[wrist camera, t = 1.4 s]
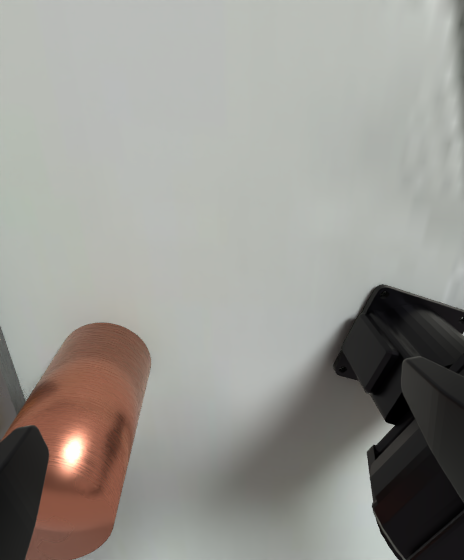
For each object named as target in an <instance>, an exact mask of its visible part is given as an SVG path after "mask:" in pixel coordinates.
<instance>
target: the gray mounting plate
mask: <svg viewBox="0 0 464 560" xmlns="http://www.w3.org/2000/svg"><path fill="white" fill-rule="evenodd" d="M24 404H25V399H24V396H23V393H22V390H21V387H20V384H19V381H18V378H17V375H16V372H15V369H14V366H13V363H12V360H11V357H10V354H9V351H8V348H7V345H6V342H5V339H4V336H3V333H2V330H1V327H0V441H1V440H2V438H3V437H4V435H5V433H6V432H7V430H8V429H9V427H10V426H11V424H12V422H13V421H14V419H15V418H16V416H17V415H18V413H19V412H20V410H21V408H22V407H23V405H24Z"/></svg>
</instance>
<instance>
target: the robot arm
mask: <svg viewBox="0 0 464 560" xmlns="http://www.w3.org/2000/svg"><path fill="white" fill-rule="evenodd" d="M384 291H386V293H385V294H384V295H383V296H380V294H381V293H382V292H384ZM461 317H463V318H462V319H461V320H460V318H461ZM463 332H464V310H462V309H459V308H455V307H452V306H449V305H446V304H443V303H440V302H437V301H434V300H431V299H428V298H425V297H422V296H419V295H415V294H412V293H409V292H406V291H403V290H400V289H397V288H394V287H391V286H388V285H383V284H382V285H379V286H377V287H376V288H375V289H374V291H373V293H372V295H371V297H370V298H369V300H368V302H367V304H366V306H365V308H364V310H363V311H362V313H361V314H360V315H359V316H358V317H357V319H356V321H355V323H354V325H353V326H352V328H351V330H350V332H349V334H348V336H347V337H346V339H345V341H344V343H343V345H342V347H341V348H342V350H341V352H340V354H339V356H338V357H337V359H336V361H335V363H334V366H333V367H334V370H335V372H336V373H337V375H340V376H343V377H347V378H351V379H354V380H358V381H359V382H360V383H361V385H362V387H363V389H364V390H365V392H366V393H369V394H370V395H371V397H372V399H373V400H374V402H375V404H376V406H377V407H378V409H379V411H380V413H381V414H382V416H383V418H384V420H385V421H386V422H387V423H389V424H393V425H395V426H394V427H393V428H392V429H391V430H390V431H389V432H388V433H387V434H386V435H385V437H384V438H383V439H382V440H381V441H380V442H379V443H378V444H377V445H373V446H372V447H371V448H370V449H369V450H368V451H367V458H368V466H369V473H370V481H371V489H372V496H373V503H372V508H373V513H374V515H375V517H376V521H377V524H378V526H379V529H380V532H381V534H382V536H383V537H384V539H385V541H386V542H387V544H388V546H389V547H390V549H391V550H392V552H393V553H394V554H395V556H396V557H397V558H398V559H399V560H464V336H463V335H462V334H463ZM342 366H345V367H344V368H342V369H339V368H340V367H342ZM48 461H49V450H48V447H47V445H46V443H45V441H44V439H43V437H42V435H41V433H40V431H39V429H38V427H36V426H35V425H29V426H24V427H19V428H16V429H15V430H14V431H12V432H11V433H10V434H9V435H8V436H7V437H6V438H4V439H3V440H2V441H1V442H0V560H25V558H26V554H27V551H28V548H29V545H30V541H31V538H32V535H33V531H34V528H35V524H36V520H37V515H38V511H39V506H40V501H41V496H42V491H43V486H44V481H45V476H46V471H47V466H48Z"/></svg>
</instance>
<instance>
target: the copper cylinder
mask: <svg viewBox="0 0 464 560" xmlns="http://www.w3.org/2000/svg"><path fill="white" fill-rule="evenodd" d="M150 368H151V357H150V353H149V351H148V348H147V347H146V345H145V343H144V342H143V341H142V340H141V339H140V338H139V337H138V336H137V335H136V334H135V333H133V332H132V331H130V330H128V329H126V328H124V327H122V326H119V325H115V324H111V323H93V324H88V325H85V326H82V327H80V328H78V329H76V330H75V331H74V332H72V333H71V334H70V335H69V336H68V337H67V339H66V340H65V341H64V343H63V345H62V346H61V348H60V349H59V351H58V352H57V354H56V355H55V357H54V359H53V360H52V362H51V363H50V365H49V366H48V368H47V369H46V371H45V373H44V374H43V376H42V377H41V379H40V380H39V382H38V384H37V385H36V387H35V388H34V390H33V391H32V393H31V394H30V396H29V398H28V399H27V401H26V402H25V404H24V405H23V407H22V408H21V410H20V412H19V413H18V415H17V416H16V418H15V419H14V421H13V422H12V424H11V426H10V427H9V429H8V430H7V432H6V433H5V435H4V437H3V438H2V440H3V439H4V438H6V437H7V436H8V435H9V434H10V433H11V432H12V431H14V430H15V429H16V428H19V427H24V426H29V425H35V426H36V427H38V429H39V431H40V433H41V435H42V437H43V439H44V441H45V443H46V445H47V447H48V450H49V461H48V466H47V471H46V476H45V481H44V486H43V491H42V496H41V501H40V506H39V511H38V515H37V520H36V524H35V528H34V531H33V535H32V538H31V541H30V545H29V548H28V551H27V554H26V558H25V560H72V559H76V558H79V557H82V556H84V555H87V554H89V553H91V552H93V551H94V550H96V549H97V548H99V547H100V546H101V545H102V544H103V543H104V542H105V541H106V540H107V539H108V537H109V536H110V534H111V532H112V529H113V525H114V521H115V517H116V513H117V509H118V504H119V500H120V496H121V492H122V487H123V483H124V479H125V475H126V470H127V466H128V462H129V458H130V453H131V449H132V445H133V441H134V436H135V432H136V428H137V424H138V419H139V415H140V411H141V407H142V402H143V398H144V394H145V390H146V385H147V381H148V377H149V373H150ZM2 440H1V441H2ZM1 441H0V442H1Z"/></svg>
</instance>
